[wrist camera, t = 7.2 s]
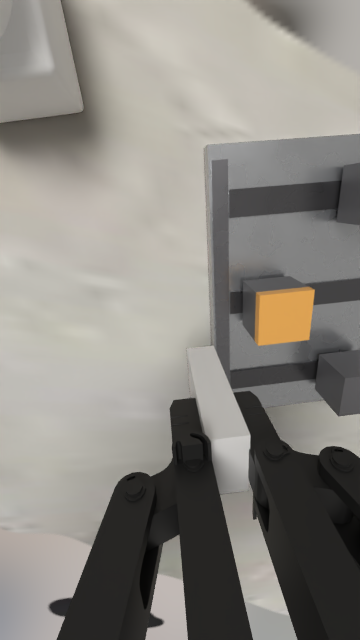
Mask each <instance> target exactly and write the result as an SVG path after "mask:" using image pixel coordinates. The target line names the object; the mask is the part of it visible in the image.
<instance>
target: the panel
mask: <svg viewBox="0 0 360 640" xmlns="http://www.w3.org/2000/svg"><path fill="white" fill-rule="evenodd" d="M355 163H360V134H352V135H338V136H323V137H309V138H295V139H281V140H267V141H253V142H239V143H225V144H211V145H207V146H206V147H205V148H204V165H205V192H206V218H207V245H208V272H209V299H210V326H211V346H212V345H214V348H215V350H216V353H217V355H218V358H219V360H220V362H221V365H222V367H223V370H224V372H225V375H226V377H227V379H228V382H229V384H230V387H231V389H232V391H233V393H234V392H243V391H251V392H252V393H253V394H254V395H256V396H257V397H258V399H259V400H260V402H261V404H262V407H263V408H266V407H274V406H282V405H289V404H297V403H305V402H313V401H320V400H324V399H323V398H322V397H321V396H320V394H319V393H318V392H317V391H316V390H315V383H316V375H317V368H318V360H319V354H327V353H335V352H344V351H352V350H360V225H354V224H346V223H338V222H336V221H337V214H338V206H339V198H340V190H341V183H342V175H343V167H344V165H349V164H355ZM285 276H290V277H292V278H294V279H296V280H298V281H300V282H301V283H303V284H305V285H307V286H309V287H311V288H312V289H314V290H315V293H314V301H313V310H312V319H311V328H310V337H309V340H304V341H296V342H287V343H279V344H270V345H261V346H258V345H257V344H256V342H255V341H254V340H253V338H252V337H251V336H250V334H249V333H248V332H247V330H246V329H245V327H244V326H243V325H242V322H243V281H246V280H256V279H266V278H276V277H285Z"/></svg>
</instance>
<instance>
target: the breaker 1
mask: <svg viewBox="0 0 360 640" xmlns="http://www.w3.org/2000/svg"><path fill="white" fill-rule="evenodd" d="M336 222H338V223H346V224H354V225H360V163H355V164H349V165H344V167H343V175H342V183H341V190H340V198H339V206H338V214H337V221H336Z"/></svg>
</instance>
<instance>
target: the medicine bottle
mask: <svg viewBox="0 0 360 640" xmlns="http://www.w3.org/2000/svg"><path fill="white" fill-rule="evenodd" d="M82 111H83V101H82V96H81V92H80V87H79V82H78V78H77V73H76V69H75V64H74V60H73V55H72V50H71V46H70V41H69V37H68V32H67V27H66V23H65V18H64V14H63V9H62V5H61V0H0V123H3V122H11V121H19V120H26V119H34V118H41V117H49V116H57V115H64V114H72V113H80V112H82Z"/></svg>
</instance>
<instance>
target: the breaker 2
mask: <svg viewBox="0 0 360 640" xmlns="http://www.w3.org/2000/svg"><path fill="white" fill-rule="evenodd" d="M315 390H316V391H317V392H318V393H319V394H320V396H321V397H322V398H323V399H324V400H325V401H326V402H327V404H328V405H329V406H330V407H331V408H332V409H333V411H334V412H335V413H336V414H337V415H338V416H345V415H353V414H360V350H352V351H344V352H335V353H327V354H319V360H318V368H317V375H316V383H315Z"/></svg>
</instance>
